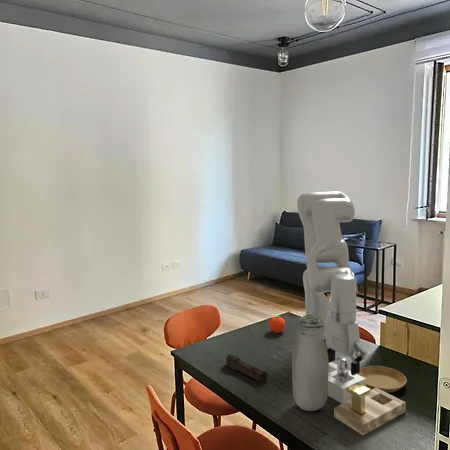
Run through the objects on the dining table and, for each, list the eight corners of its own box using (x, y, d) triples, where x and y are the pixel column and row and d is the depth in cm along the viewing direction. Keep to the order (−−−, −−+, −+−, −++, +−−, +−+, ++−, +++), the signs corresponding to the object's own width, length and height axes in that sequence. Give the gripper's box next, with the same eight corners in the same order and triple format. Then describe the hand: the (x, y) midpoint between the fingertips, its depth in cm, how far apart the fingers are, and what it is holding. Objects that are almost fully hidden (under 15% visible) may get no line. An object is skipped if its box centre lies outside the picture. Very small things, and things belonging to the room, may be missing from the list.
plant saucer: (409, 378, 140) (409, 371, 139) (402, 401, 127) (402, 392, 127) (363, 369, 147) (363, 362, 147) (352, 389, 135) (352, 381, 134)
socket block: (375, 396, 130) (375, 387, 129) (405, 412, 121) (405, 402, 121) (334, 417, 120) (334, 407, 120) (363, 435, 112) (363, 424, 111)
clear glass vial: (342, 388, 135) (342, 355, 134) (351, 393, 132) (351, 359, 131) (334, 391, 133) (334, 358, 132) (343, 396, 130) (343, 362, 129)
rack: (327, 373, 145) (327, 359, 144) (365, 393, 132) (365, 378, 131) (305, 382, 140) (305, 367, 139) (343, 404, 126) (343, 388, 126)
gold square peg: (357, 413, 121) (357, 382, 120) (369, 420, 117) (370, 389, 116) (346, 418, 119) (346, 387, 117) (359, 426, 115) (359, 394, 114)
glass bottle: (306, 421, 119) (305, 325, 115) (286, 403, 128) (285, 313, 124) (335, 412, 123) (335, 318, 119) (314, 395, 132) (313, 308, 128)
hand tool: (268, 381, 141) (268, 368, 141) (260, 385, 139) (259, 372, 138) (232, 362, 156) (232, 350, 156) (224, 365, 154) (223, 353, 153)
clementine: (269, 328, 186) (268, 312, 185) (285, 328, 186) (284, 312, 185) (269, 335, 178) (269, 319, 177) (286, 335, 178) (285, 319, 177)
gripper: (313, 309, 135) (313, 360, 137) (357, 326, 120) (356, 383, 123) (330, 304, 139) (330, 353, 141) (375, 320, 124) (373, 375, 127)
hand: (342, 367), depth 132 cm, fingers open, 9 cm apart
